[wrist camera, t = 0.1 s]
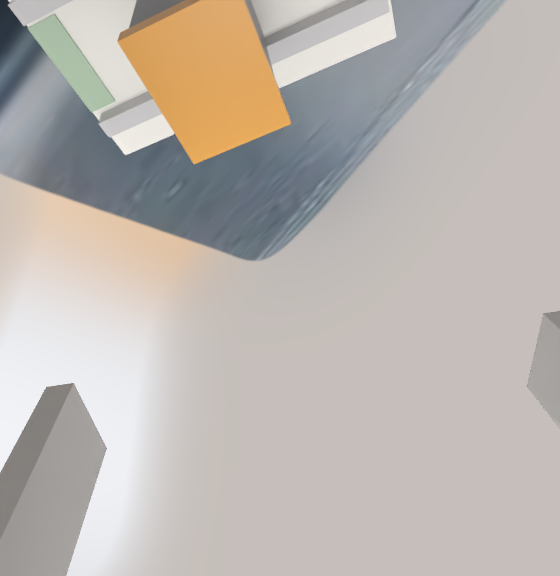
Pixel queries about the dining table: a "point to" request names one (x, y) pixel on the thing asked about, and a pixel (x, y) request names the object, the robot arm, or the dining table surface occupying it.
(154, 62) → the handle
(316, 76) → the dining table surface
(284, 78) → the railed base plate
